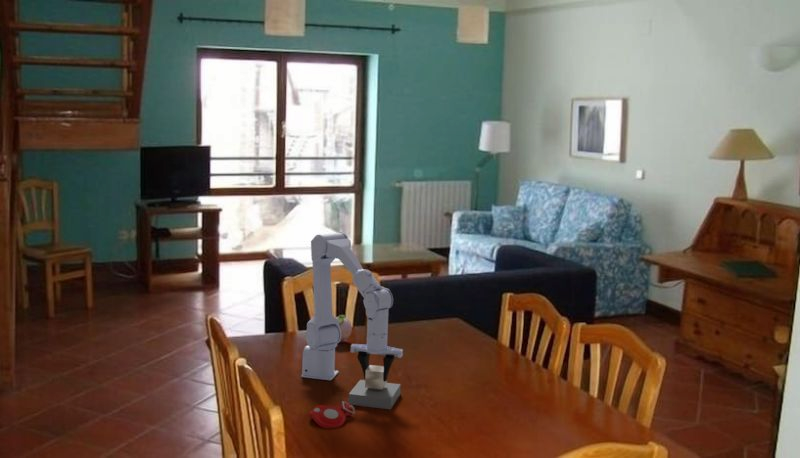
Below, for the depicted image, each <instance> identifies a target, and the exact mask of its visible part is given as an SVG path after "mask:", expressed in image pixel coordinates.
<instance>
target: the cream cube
mask: <svg viewBox="0 0 800 458" xmlns="http://www.w3.org/2000/svg"><path fill="white" fill-rule="evenodd" d="M383 374H384V365H376V364H374V365H373V364H369V367H368V368H367V369H366V372H365V379H364V380H365V388H373V389H383V388H384V387H385V385H386V384H387V383H388V381H387V380H388V379H387V380H386V381H384V380H383Z"/></svg>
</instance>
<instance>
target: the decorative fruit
mask: <svg viewBox="0 0 800 458" xmlns="http://www.w3.org/2000/svg"><path fill="white" fill-rule="evenodd" d="M334 317H335V318H336V319H338V320H339V327H340V330H341V340H340V342H339V343H342V342H344V341H346V340H347V339H349V337H350V336H351V333H352V329H353V327H352V323H351V321H350V319H349V318H347V317H346V315H345V314H340V315H338V316H334Z"/></svg>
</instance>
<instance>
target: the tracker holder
mask: <svg viewBox="0 0 800 458" xmlns="http://www.w3.org/2000/svg"><path fill="white" fill-rule="evenodd" d="M352 415H355V407H354V405H350V404H348V402H346V401H343V400H342V401H341V405H340V406H332V405H326V404H325V405H324V404H320V405H316V406H315V407H313V409H312V410H311V411H310V412H309V413H308V416H309V417H310V418H312V419H313V422H315V423H316V424H317V426H320V427H321V428H323V429H327V430H328V429H338V428H341V427H342V426H344V424H345V422H346V419H347V417H351V416H352Z"/></svg>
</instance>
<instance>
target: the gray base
mask: <svg viewBox="0 0 800 458" xmlns="http://www.w3.org/2000/svg"><path fill="white" fill-rule="evenodd" d="M401 385H402V384H401V383H394V382H393V383H392V382H387V384H386V385H385V387H384V388H383V389H373V388H365V379H360V380H359V381H358V382H357V383H356V384H355V386H354V387H353V388H352V389H351V390H350V392H349V393H348V401H347V403H348V404H350V405H352V406H359V407H369V408H375V409H384V410H392V409H393V406H394V405H395V403H396V402H397V400H398V399H399V397H400V395H401V387H402V386H401Z"/></svg>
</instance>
